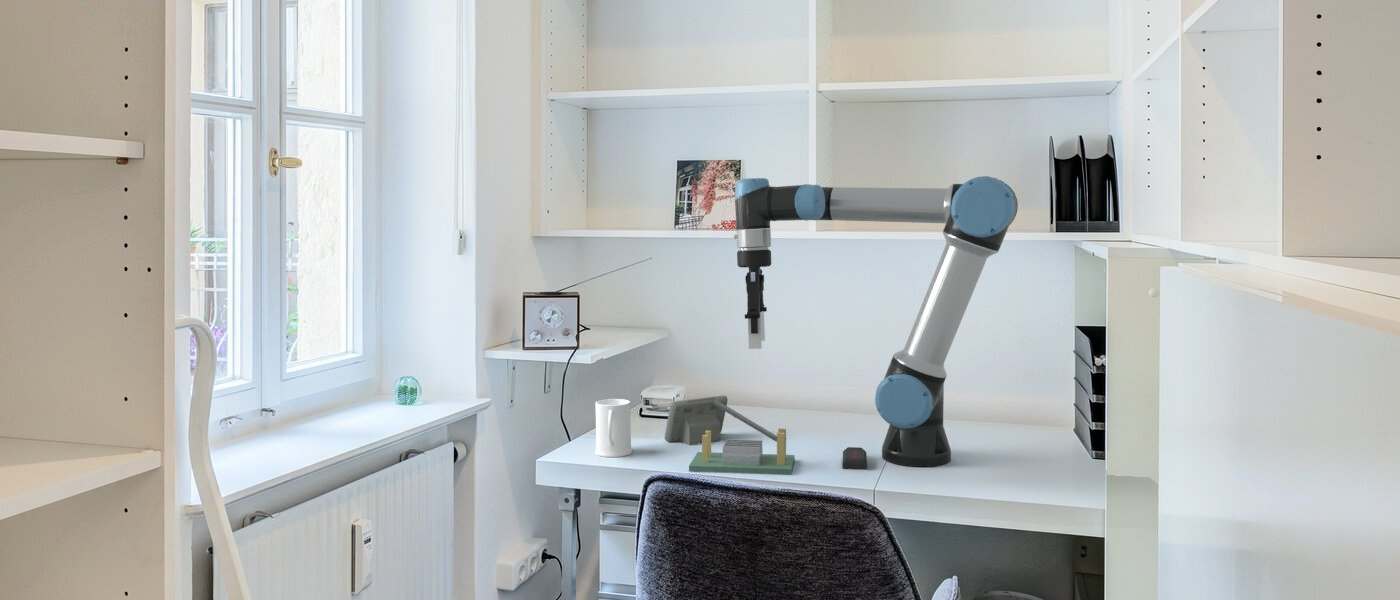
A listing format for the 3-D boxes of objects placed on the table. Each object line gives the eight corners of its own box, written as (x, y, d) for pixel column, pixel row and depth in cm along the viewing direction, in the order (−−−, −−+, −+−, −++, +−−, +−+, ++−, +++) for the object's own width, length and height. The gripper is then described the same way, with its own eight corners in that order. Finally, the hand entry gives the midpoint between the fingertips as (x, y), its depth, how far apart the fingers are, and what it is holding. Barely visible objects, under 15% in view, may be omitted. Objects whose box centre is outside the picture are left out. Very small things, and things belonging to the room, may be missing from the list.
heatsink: (762, 456, 211) (762, 439, 210) (759, 465, 203) (759, 448, 202) (727, 455, 212) (726, 438, 212) (722, 464, 204) (722, 447, 204)
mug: (625, 461, 212) (624, 408, 211) (588, 460, 213) (587, 408, 212) (635, 448, 224) (634, 398, 223) (599, 448, 225) (598, 398, 223)
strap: (782, 443, 207) (785, 439, 207) (781, 446, 204) (784, 442, 204) (714, 402, 209) (716, 398, 209) (712, 405, 206) (714, 401, 206)
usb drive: (842, 470, 204) (842, 458, 204) (843, 456, 216) (843, 444, 216) (866, 471, 203) (866, 458, 203) (866, 457, 215) (866, 445, 215)
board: (794, 460, 212) (794, 425, 211) (791, 474, 200) (791, 437, 199) (697, 457, 215) (697, 422, 214) (689, 471, 203) (688, 434, 203)
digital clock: (721, 433, 239) (721, 392, 238) (734, 441, 230) (734, 398, 229) (660, 438, 234) (659, 396, 233) (670, 447, 225) (670, 403, 224)
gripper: (741, 248, 221) (744, 338, 223) (732, 251, 196) (735, 352, 198) (773, 246, 220) (776, 337, 222) (768, 249, 195) (771, 351, 197)
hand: (757, 344), depth 210 cm, fingers open, 13 cm apart
